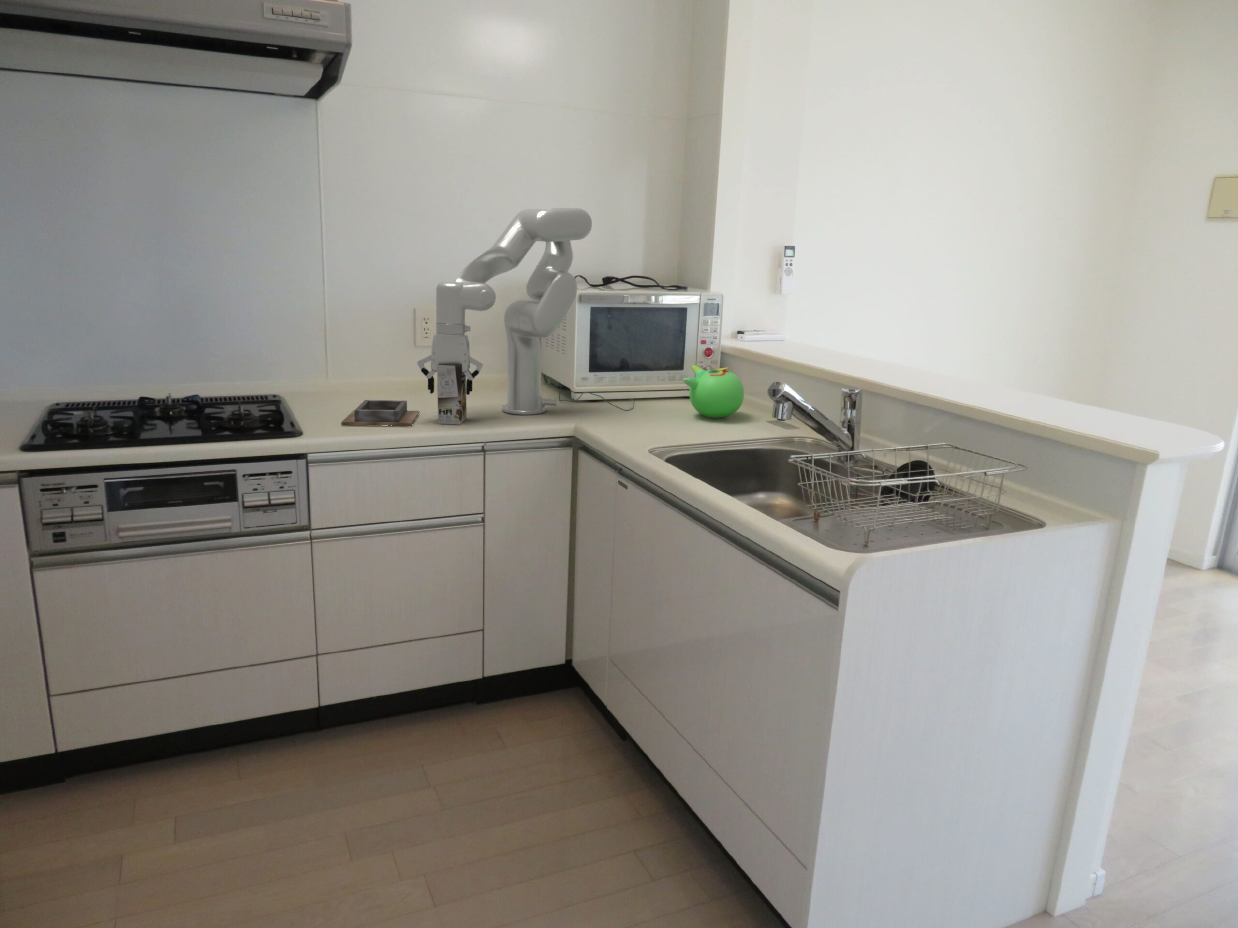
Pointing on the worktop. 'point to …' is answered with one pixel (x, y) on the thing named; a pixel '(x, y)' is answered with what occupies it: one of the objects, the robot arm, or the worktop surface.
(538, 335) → the robot arm
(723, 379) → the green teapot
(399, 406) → the dock
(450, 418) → the coffee box
